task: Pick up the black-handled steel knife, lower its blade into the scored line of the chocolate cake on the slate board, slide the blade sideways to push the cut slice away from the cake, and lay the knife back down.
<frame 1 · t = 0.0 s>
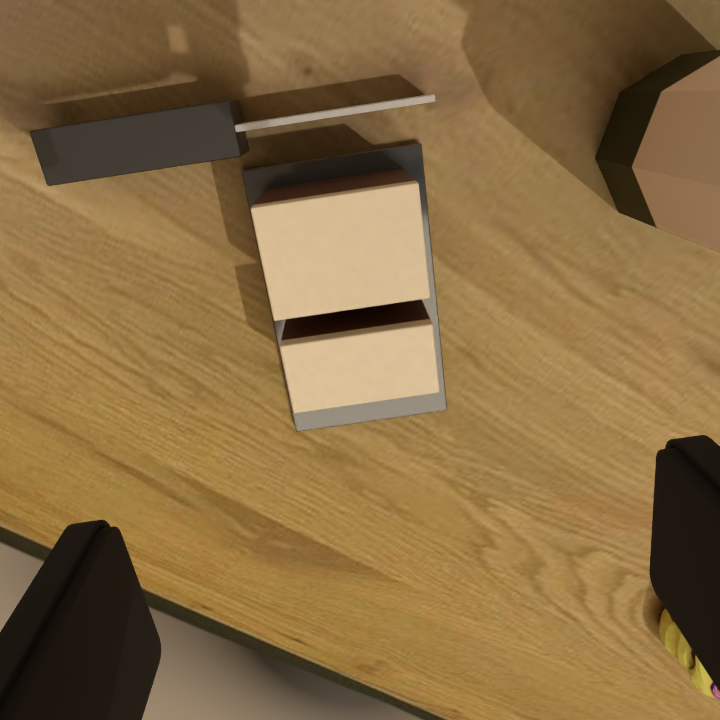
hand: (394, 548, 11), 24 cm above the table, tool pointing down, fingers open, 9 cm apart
cake slice: (356, 325, 34), point 1 cm above the table, touching board
wine bottle: (675, 144, 31), on the table
knife: (154, 139, 30), on the table
board: (352, 297, 34), on the table
cake: (350, 280, 33), resting on board
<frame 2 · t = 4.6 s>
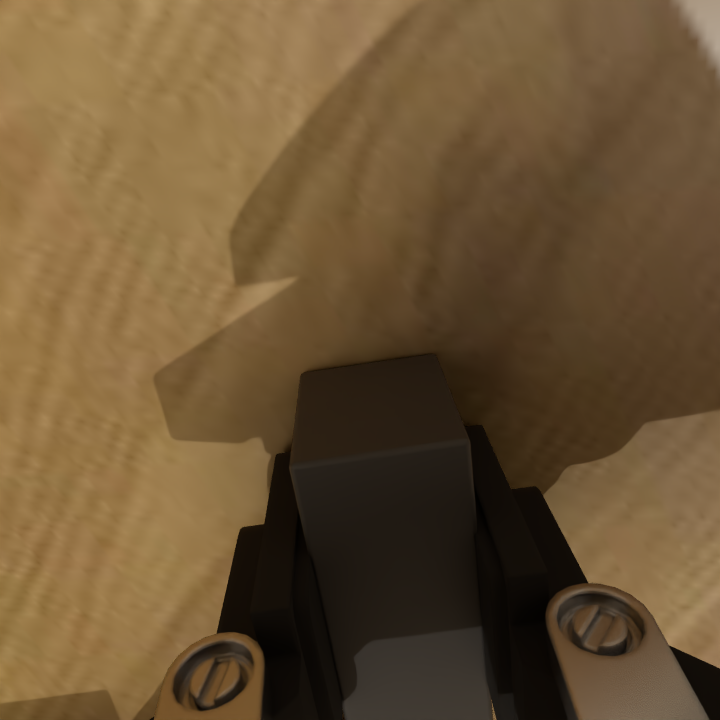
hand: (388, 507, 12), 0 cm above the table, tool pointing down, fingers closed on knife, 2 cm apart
knife: (397, 562, 12), on the table, touching gripper
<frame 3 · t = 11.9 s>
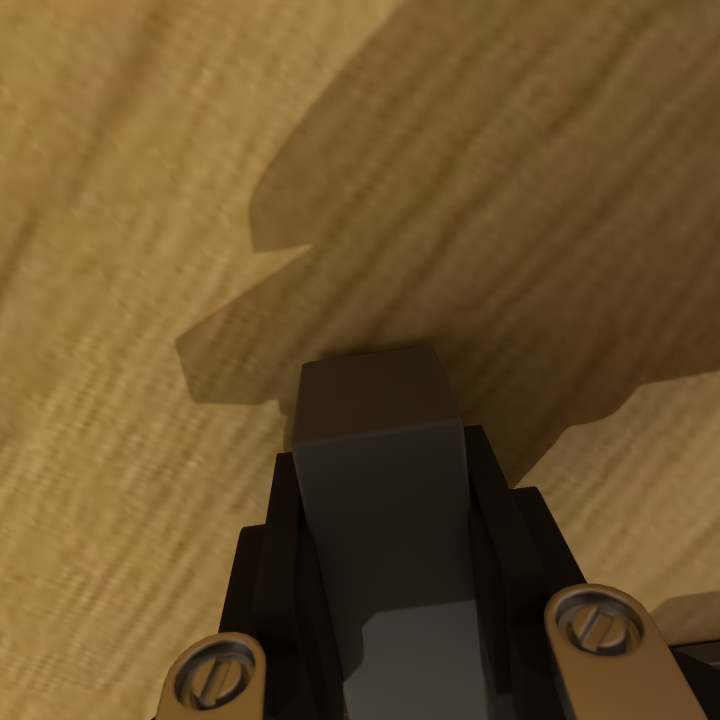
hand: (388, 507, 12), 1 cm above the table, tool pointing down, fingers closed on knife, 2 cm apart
knife: (396, 551, 13), on the table, touching board, cake slice, gripper
when the fingers open (1 cm above the table, at t = 17.5 s): knife stays where it is, on the table.
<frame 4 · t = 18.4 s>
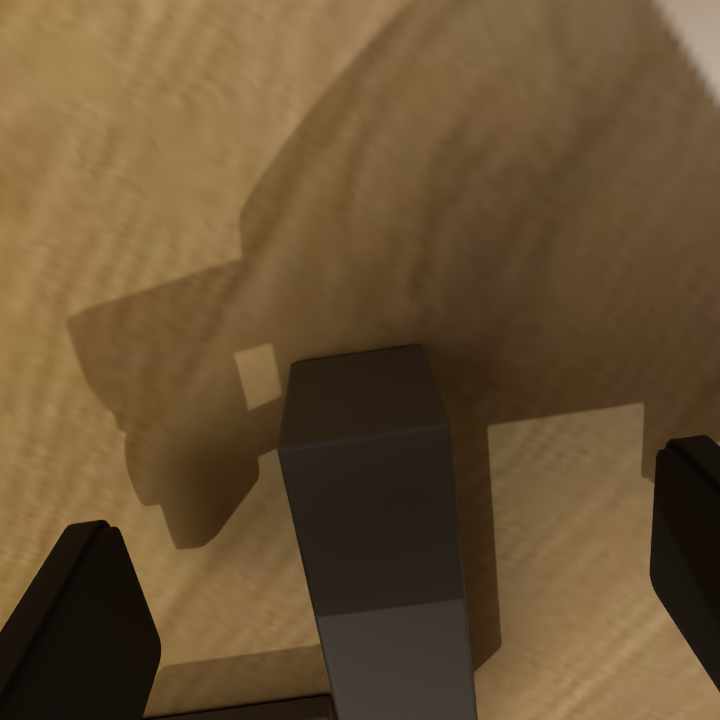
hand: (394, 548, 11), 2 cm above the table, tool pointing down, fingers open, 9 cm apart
knife: (386, 548, 13), on the table
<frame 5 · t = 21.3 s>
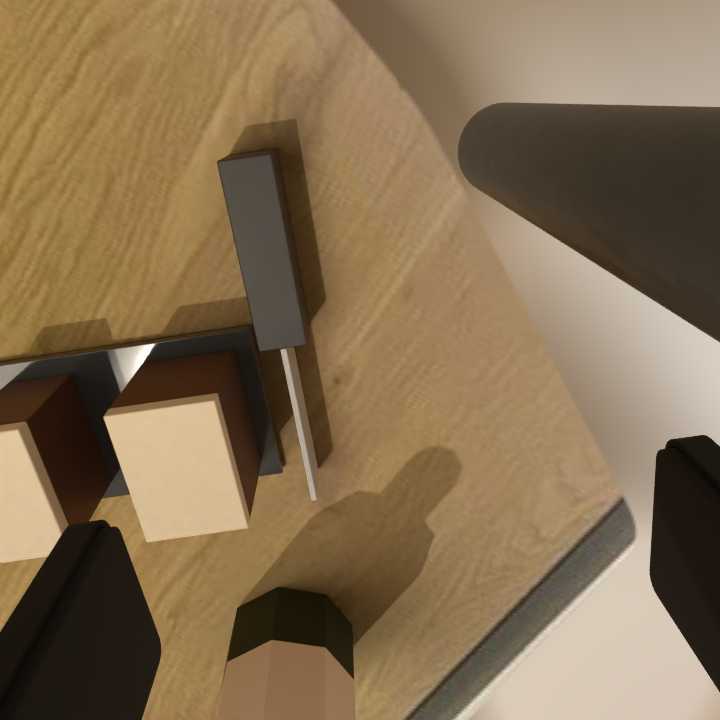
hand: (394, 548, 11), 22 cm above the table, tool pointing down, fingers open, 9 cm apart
cake slice: (61, 434, 34), point 1 cm above the table, touching board
wine bottle: (291, 632, 41), on the table
knife: (271, 244, 31), on the table
board: (136, 418, 34), on the table
cake: (153, 416, 34), resting on board
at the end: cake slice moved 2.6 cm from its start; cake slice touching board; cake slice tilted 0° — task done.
